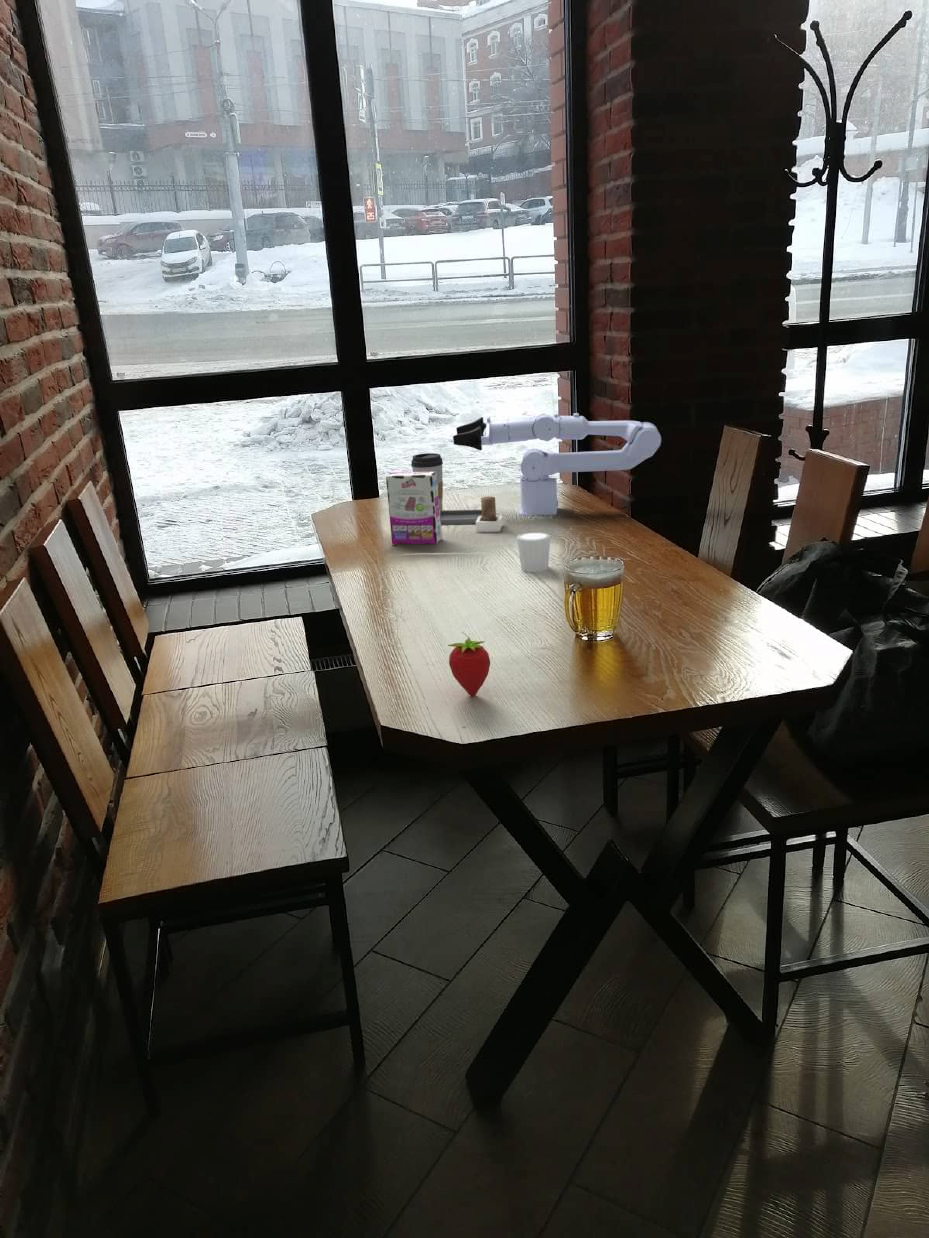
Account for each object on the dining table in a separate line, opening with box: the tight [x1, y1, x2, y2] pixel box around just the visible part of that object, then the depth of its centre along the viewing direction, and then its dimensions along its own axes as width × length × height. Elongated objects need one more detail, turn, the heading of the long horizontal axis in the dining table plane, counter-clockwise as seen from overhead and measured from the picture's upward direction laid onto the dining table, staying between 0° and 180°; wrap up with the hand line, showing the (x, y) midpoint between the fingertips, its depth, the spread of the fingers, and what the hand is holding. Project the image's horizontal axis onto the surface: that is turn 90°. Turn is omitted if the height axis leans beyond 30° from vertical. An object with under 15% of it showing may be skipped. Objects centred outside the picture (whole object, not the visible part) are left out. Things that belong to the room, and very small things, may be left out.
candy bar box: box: [385, 471, 443, 546], centre depth 215 cm, size 11×5×16 cm, turn 76°
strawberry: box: [447, 631, 491, 697], centre depth 134 cm, size 6×8×10 cm
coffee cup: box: [410, 452, 444, 511], centre depth 244 cm, size 8×8×15 cm
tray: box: [440, 509, 482, 526], centre depth 235 cm, size 14×10×2 cm
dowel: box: [480, 496, 497, 521], centre depth 224 cm, size 3×3×8 cm
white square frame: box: [475, 515, 504, 533], centre depth 224 cm, size 6×6×3 cm
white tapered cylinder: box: [516, 531, 551, 573], centre depth 192 cm, size 7×7×7 cm
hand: (455, 436), depth 235 cm, fingers open, 7 cm apart
